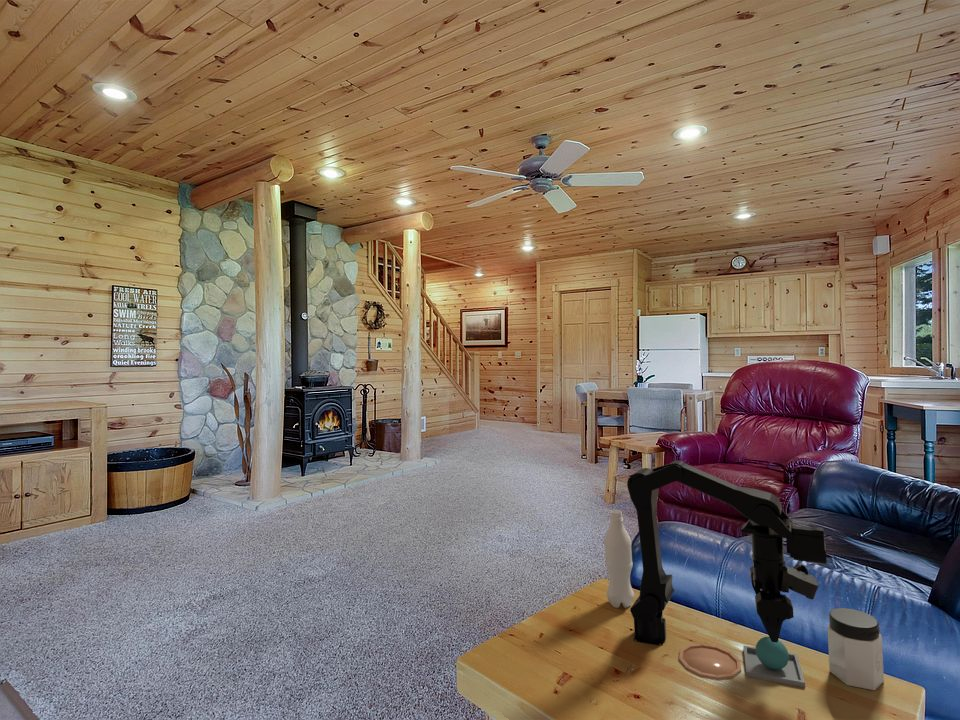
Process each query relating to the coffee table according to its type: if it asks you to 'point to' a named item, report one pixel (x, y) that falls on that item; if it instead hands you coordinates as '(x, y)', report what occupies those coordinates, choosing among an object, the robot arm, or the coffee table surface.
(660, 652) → the coffee table surface
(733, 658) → the dish
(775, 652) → the ball
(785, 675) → the tray
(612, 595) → the water bottle
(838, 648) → the jar
